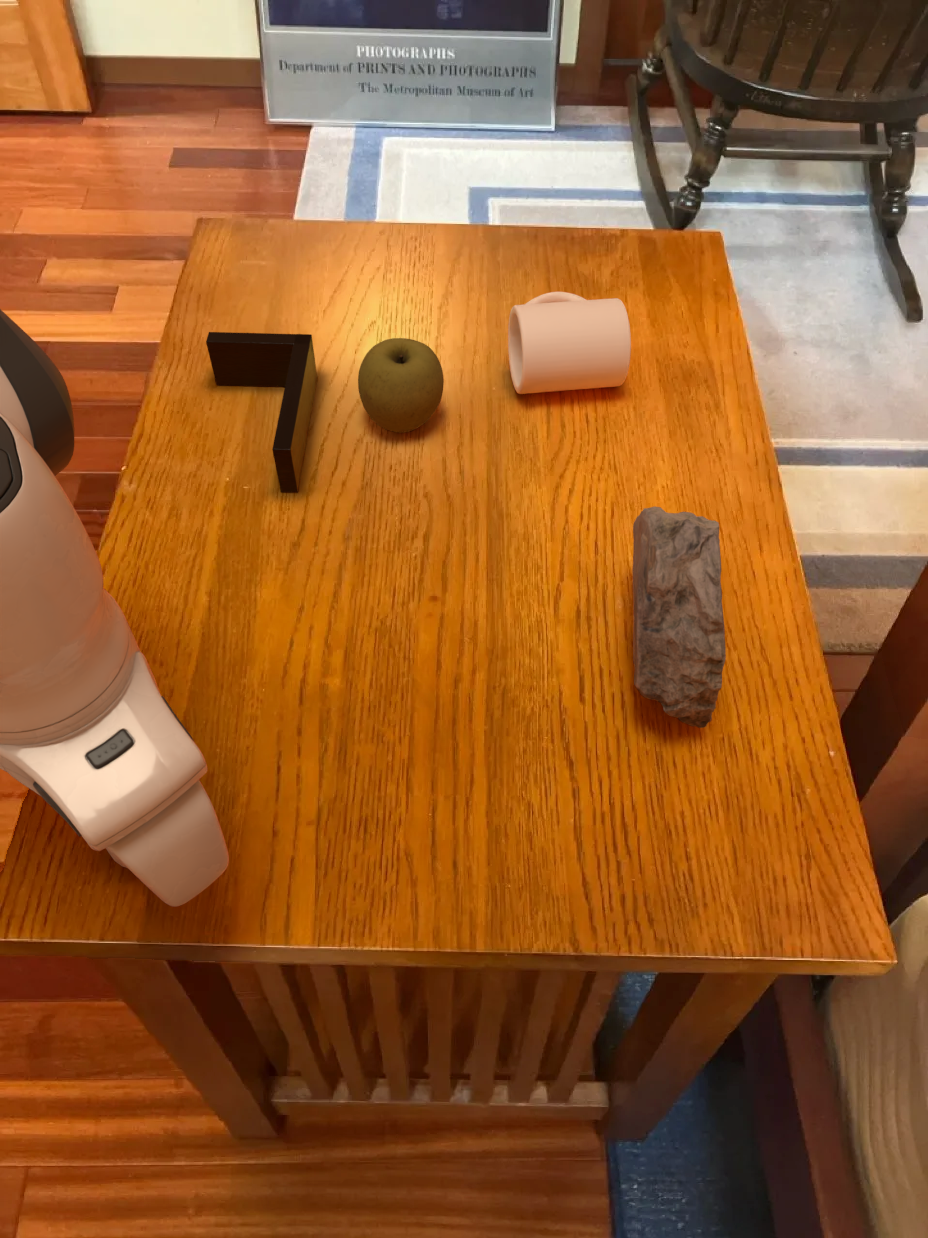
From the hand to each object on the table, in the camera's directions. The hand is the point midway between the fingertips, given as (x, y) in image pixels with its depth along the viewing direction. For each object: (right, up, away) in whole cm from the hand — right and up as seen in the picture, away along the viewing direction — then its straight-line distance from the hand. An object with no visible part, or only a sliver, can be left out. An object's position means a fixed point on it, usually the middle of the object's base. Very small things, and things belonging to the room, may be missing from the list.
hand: (128, 807), depth 58 cm
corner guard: (+2, +29, +28) cm, 40 cm away
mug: (+30, +36, +34) cm, 58 cm away
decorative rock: (+36, +9, +14) cm, 39 cm away
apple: (+15, +30, +29) cm, 45 cm away
